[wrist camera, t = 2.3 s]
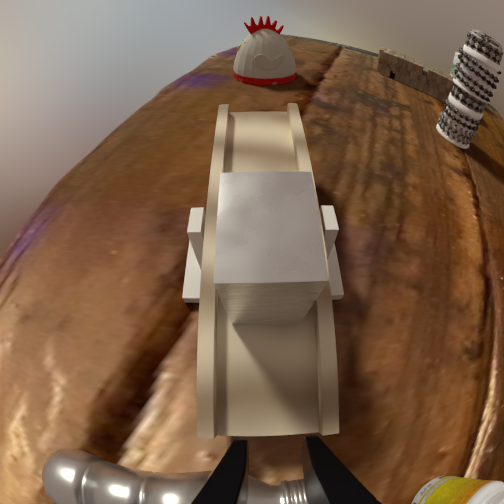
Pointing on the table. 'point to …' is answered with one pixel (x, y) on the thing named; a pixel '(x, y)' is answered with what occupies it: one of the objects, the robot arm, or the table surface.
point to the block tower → (415, 74)
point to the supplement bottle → (460, 491)
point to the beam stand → (196, 250)
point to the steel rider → (268, 247)
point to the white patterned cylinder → (470, 88)
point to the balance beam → (262, 336)
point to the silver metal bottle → (142, 483)
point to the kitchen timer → (264, 56)
